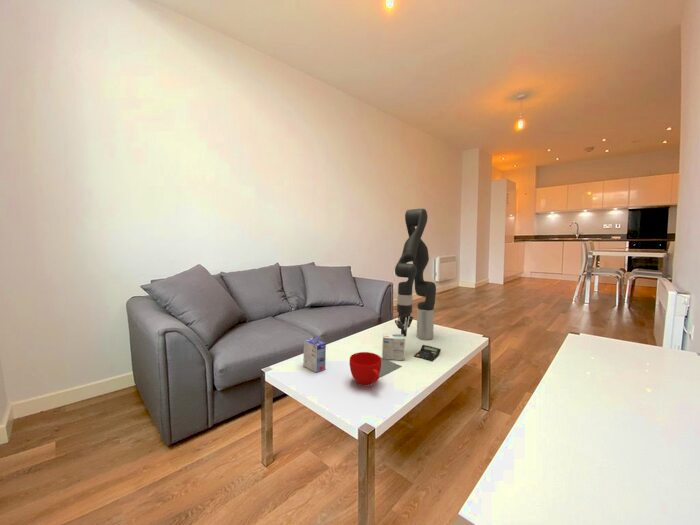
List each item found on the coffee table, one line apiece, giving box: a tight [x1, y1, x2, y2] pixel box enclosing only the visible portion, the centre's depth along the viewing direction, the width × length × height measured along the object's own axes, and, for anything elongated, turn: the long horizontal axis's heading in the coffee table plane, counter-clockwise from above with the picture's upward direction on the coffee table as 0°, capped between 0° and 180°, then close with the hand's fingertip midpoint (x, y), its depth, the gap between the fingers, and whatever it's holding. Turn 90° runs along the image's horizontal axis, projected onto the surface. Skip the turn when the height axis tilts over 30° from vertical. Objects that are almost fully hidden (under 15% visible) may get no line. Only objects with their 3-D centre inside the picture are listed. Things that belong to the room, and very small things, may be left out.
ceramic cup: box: [349, 351, 382, 387], centre depth 118 cm, size 13×17×10 cm
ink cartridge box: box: [303, 334, 327, 373], centre depth 132 cm, size 10×6×14 cm, turn 46°
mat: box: [349, 357, 403, 379], centre depth 136 cm, size 16×18×1 cm
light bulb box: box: [381, 333, 406, 361], centre depth 144 cm, size 11×7×11 cm, turn 84°
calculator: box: [413, 344, 442, 362], centre depth 148 cm, size 9×12×3 cm
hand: (403, 336), depth 150 cm, fingers closed
